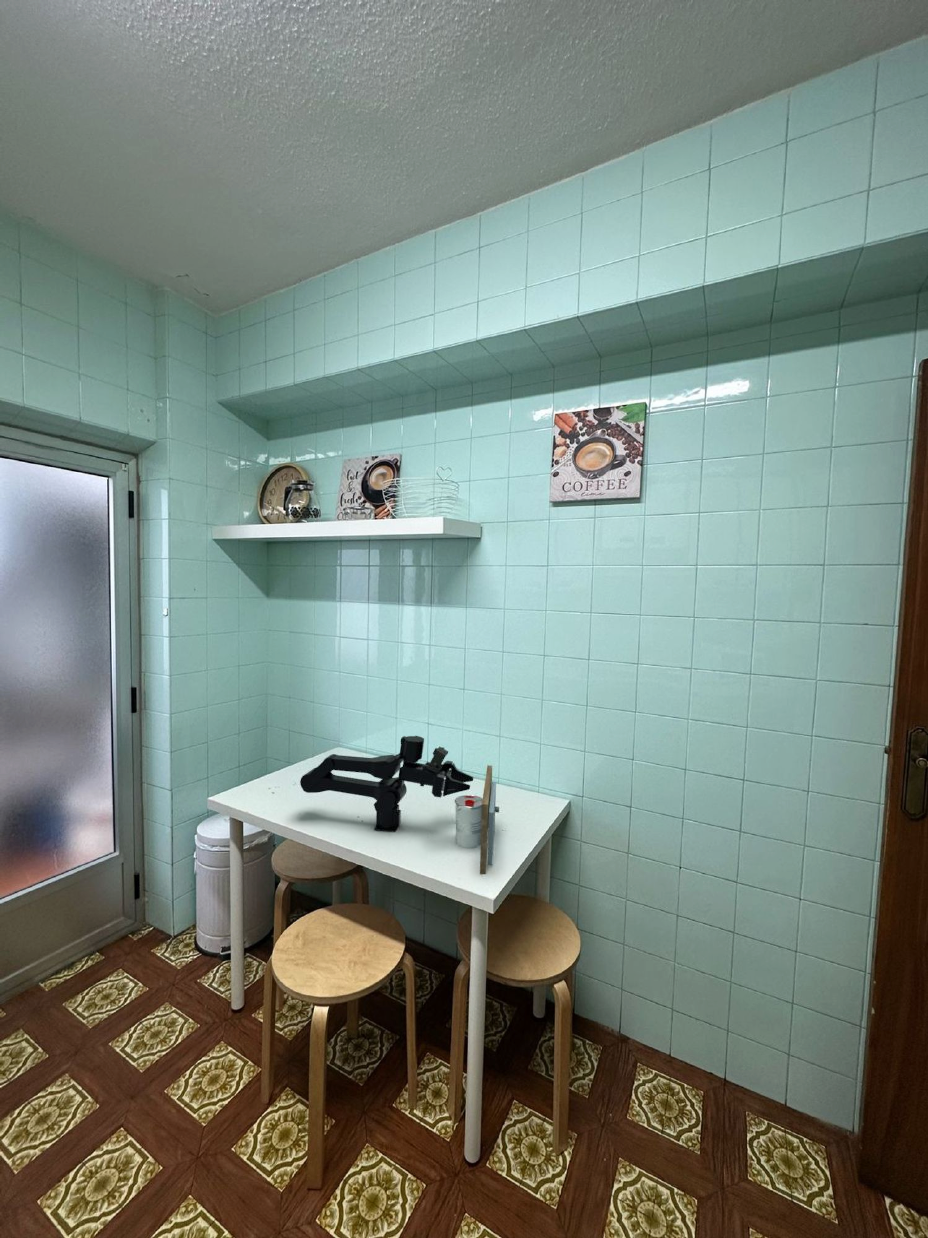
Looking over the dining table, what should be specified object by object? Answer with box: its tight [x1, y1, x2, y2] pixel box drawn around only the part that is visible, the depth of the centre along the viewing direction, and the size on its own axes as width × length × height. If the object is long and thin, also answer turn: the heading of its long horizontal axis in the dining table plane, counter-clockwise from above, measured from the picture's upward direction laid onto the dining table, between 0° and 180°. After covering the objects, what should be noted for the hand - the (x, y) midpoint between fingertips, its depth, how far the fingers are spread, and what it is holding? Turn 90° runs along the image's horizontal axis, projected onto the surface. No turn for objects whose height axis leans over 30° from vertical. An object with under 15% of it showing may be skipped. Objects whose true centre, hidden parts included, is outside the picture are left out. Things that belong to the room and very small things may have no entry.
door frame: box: [479, 764, 493, 875], centre depth 142 cm, size 2×29×18 cm, turn 175°
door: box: [487, 781, 500, 866], centre depth 142 cm, size 2×21×14 cm, turn 175°
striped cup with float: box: [454, 794, 483, 849], centre depth 144 cm, size 10×8×12 cm
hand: (471, 783), depth 148 cm, fingers open, 9 cm apart
